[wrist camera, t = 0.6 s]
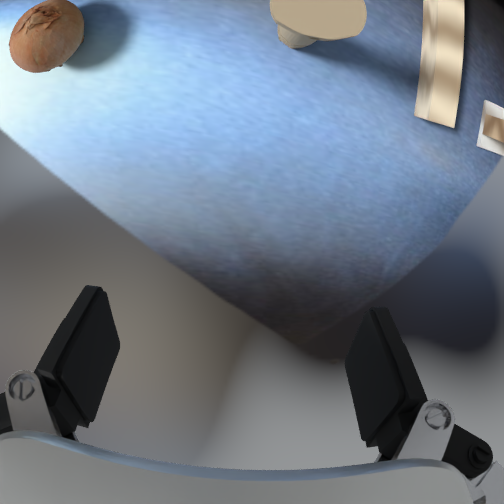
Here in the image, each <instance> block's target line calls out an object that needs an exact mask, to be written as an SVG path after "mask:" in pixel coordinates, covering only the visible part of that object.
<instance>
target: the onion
mask: <svg viewBox="0 0 504 504" xmlns="http://www.w3.org/2000/svg"><path fill="white" fill-rule="evenodd" d="M83 33H84V19H83V16H82V13H81V11H80V10H79V9H78V7H77V6H76V5H74V4H73V3H71V2H69V1H67V0H47V1H45V2H42V3H40V4H38V5H36V6H34V7H33V8H31V9H29V10H28V11H27V12H26V13H24V15H23V16H22V17H21V18H20V19H19V20H18V22H17V23H16V25H15V27H14V29H13V31H12V34H11V37H10V42H9V46H10V53H11V57H12V59H13V61H14V62H15V63H16V64H17V65H18V66H19V67H20V68H22V69H24V70H26V71H29V72H33V73H40V72H46V71H50V70H51V69H53V68H55V67H58V66H59V67H62V65H63V63H64V62H65V61H67V60H68V59H69V58H70V57H71V56H72V54H74V52H75V51H76V50H77V49H78V47H79V45H80V44H81V43H82V42H83V40H84V35H83Z"/></svg>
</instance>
